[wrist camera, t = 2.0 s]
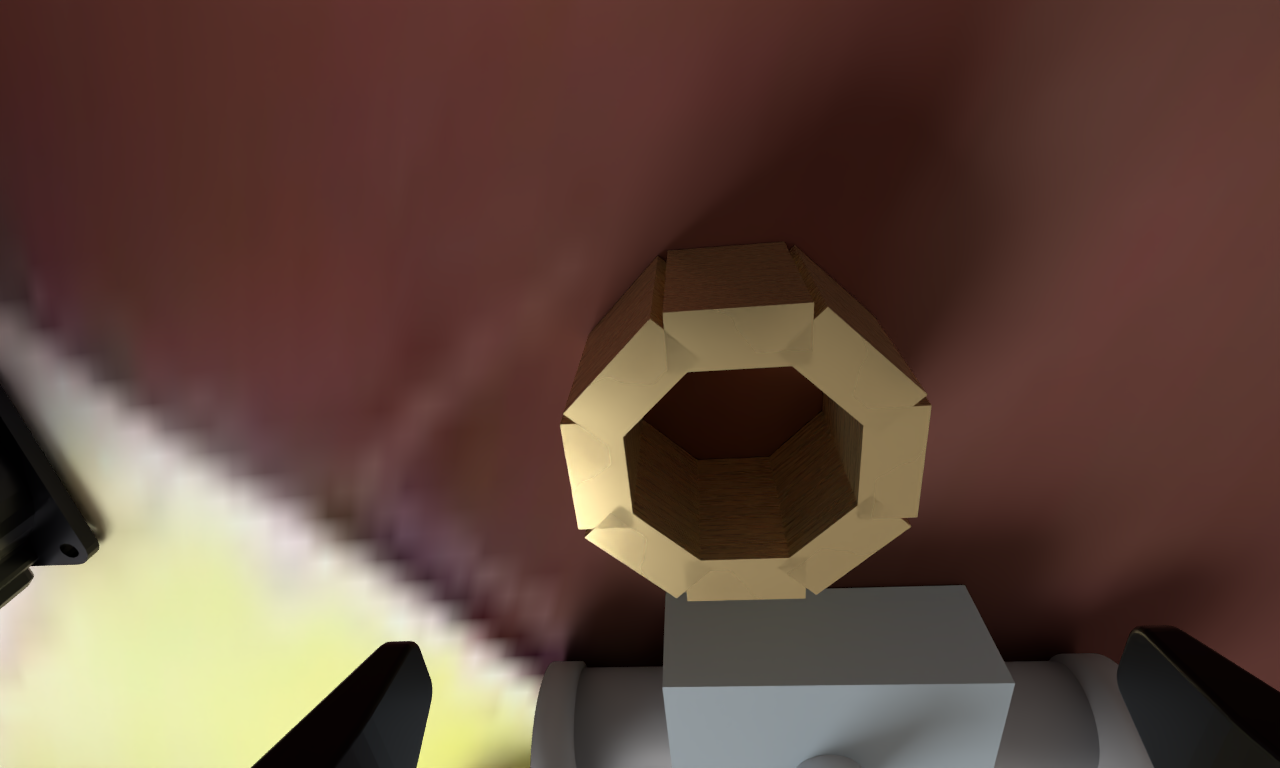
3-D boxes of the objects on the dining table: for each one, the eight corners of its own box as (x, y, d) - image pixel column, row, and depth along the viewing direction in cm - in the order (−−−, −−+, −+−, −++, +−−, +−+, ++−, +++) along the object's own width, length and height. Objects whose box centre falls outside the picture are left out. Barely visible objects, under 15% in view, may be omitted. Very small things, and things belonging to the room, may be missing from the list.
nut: (573, 258, 14) (540, 320, 11) (884, 234, 13) (946, 293, 10) (609, 499, 17) (591, 603, 14) (864, 489, 16) (907, 596, 13)
